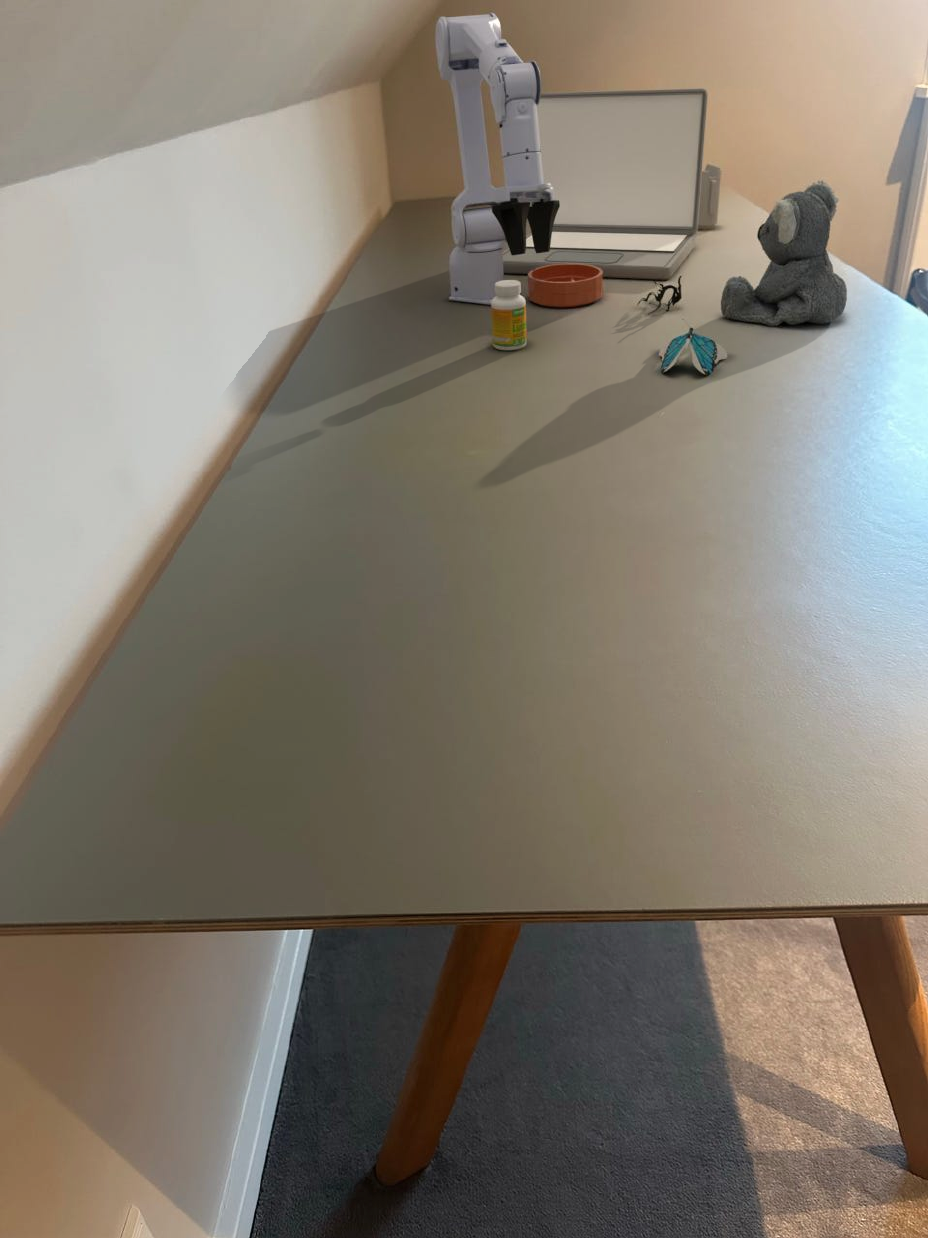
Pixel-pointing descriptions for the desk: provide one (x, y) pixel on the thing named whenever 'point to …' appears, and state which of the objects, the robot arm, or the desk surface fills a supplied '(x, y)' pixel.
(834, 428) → the desk surface
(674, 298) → the creature
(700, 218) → the cable organizer
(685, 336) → the decorative butterfly
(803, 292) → the koala plush
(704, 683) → the desk surface
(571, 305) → the bowl
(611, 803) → the desk surface
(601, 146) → the laptop
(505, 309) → the supplement bottle
